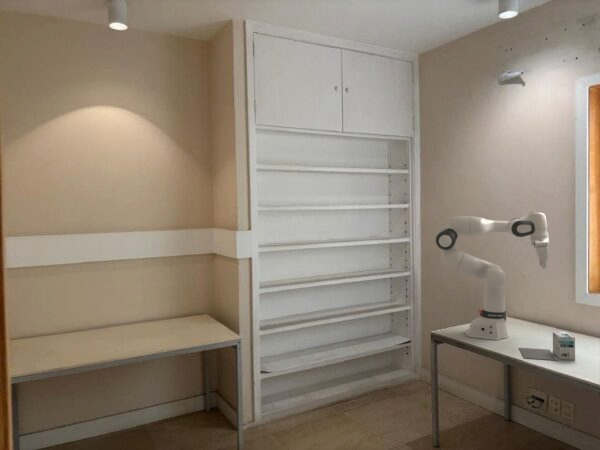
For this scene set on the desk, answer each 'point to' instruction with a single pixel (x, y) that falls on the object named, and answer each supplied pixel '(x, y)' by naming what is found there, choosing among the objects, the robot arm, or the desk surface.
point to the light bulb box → (564, 345)
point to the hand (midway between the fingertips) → (542, 266)
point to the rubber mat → (537, 354)
